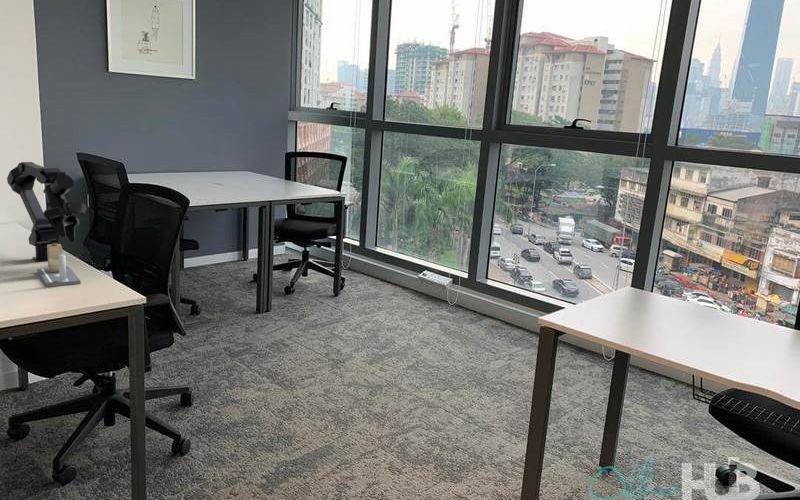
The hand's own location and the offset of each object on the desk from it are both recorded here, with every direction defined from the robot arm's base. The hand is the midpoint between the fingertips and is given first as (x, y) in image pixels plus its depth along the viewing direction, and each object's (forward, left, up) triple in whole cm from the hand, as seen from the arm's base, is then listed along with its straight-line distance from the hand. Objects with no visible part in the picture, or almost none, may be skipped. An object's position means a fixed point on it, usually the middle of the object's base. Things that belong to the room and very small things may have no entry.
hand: (68, 239), depth 220 cm
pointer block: (+3, -6, -10) cm, 12 cm away
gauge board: (+8, -7, -11) cm, 15 cm away
